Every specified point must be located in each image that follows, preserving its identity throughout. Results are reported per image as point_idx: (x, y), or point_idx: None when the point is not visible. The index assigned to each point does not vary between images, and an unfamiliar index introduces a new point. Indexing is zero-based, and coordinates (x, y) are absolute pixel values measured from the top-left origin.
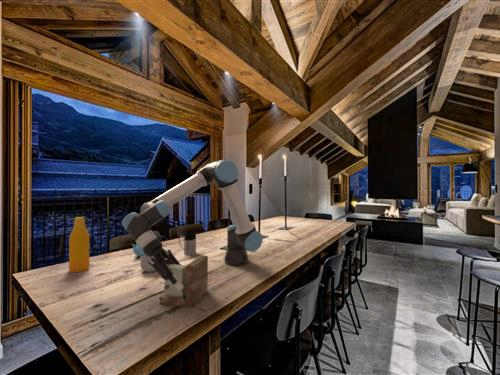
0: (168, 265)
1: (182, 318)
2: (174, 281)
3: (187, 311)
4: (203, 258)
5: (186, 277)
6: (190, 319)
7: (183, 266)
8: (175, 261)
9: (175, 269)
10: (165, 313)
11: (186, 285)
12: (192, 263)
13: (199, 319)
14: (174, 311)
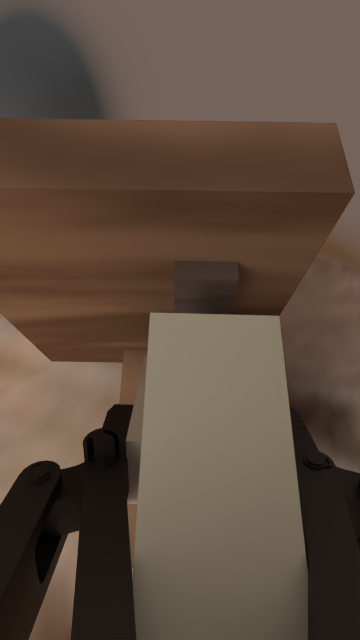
0: (218, 627)
1: (355, 328)
2: (301, 418)
3: (293, 334)
4: (24, 124)
5: (301, 278)
6: (345, 292)
7: (194, 340)
8: (8, 594)
9: (286, 417)
10: (356, 437)
11: (280, 311)
12: (251, 162)
13: (329, 259)
14: (319, 398)
